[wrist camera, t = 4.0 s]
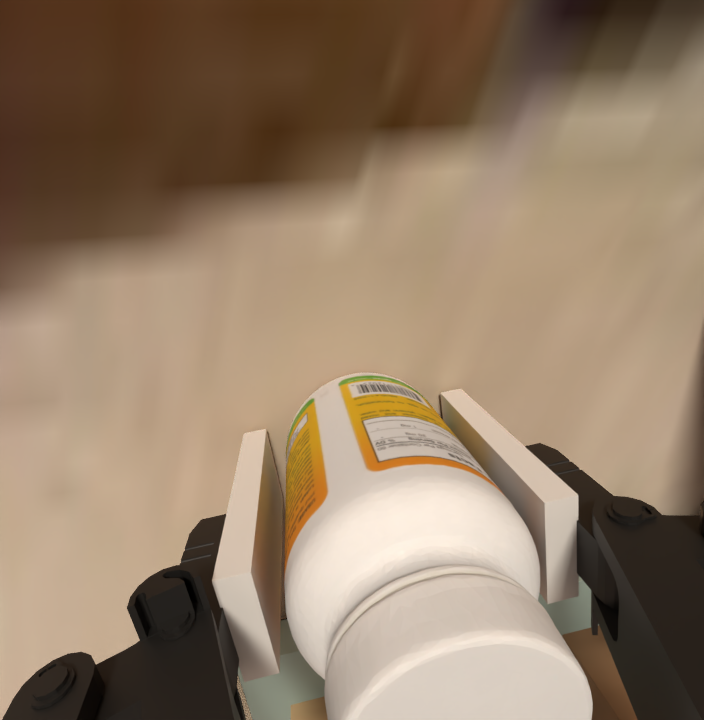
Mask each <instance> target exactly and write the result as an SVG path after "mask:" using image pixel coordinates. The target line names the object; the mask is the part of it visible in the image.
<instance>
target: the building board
mask: <svg viewBox="0 0 704 720" xmlns="http://www.w3.org/2000/svg"><path fill="white" fill-rule="evenodd" d="M538 602H539V603H540V604H541V605H542V606H543V607H544V609H545V610H546V611H547V613H548V614H549V616H550V618H551V619H552V621H553V623H554V625H555V627H556V628H557V630H558V631H559V633H560V634H561V636H562V635H564V634H567V633H571V632H575V631H579V630H583V629H587V628H591V589H590V588H589V587H588V586H587V585H586V583H585V582H584V581H583V580H582V579H581V577H580V576H579V596H578V597H574V598H570V599H566V600H562V601H558V602H554V603H550V604H547V603H546V601H545V600H544V598H543V597H542V595H541V594H540V593H539V598H538ZM598 625H599V624H598ZM238 676H239V679H240V682H241V685H242V688H243V691H244V694H245V697H246V701H247V704H248V707H249V710H250V713H251V716H252V719H253V720H291V705H293V704H297V703H301V702H304V701H308V700H312V699H316V698H320V697H324V696H325V695H324V687H325V680H324V679H323V678H322V677H321V676H320V675H318V674H317V673H316V672H315V671H314V670H313V669H312V667H311V666H310V665H309V664H308V663H307V661H306V660H305V659H304V657H303V656H302V655H301V653H300V651H299V649H298V648H297V645H296V643H295V641H294V639H293V637H292V634H291V631H290V627H289V624H288V620H287V619H286V620H282V621H281V622H280V673H278V674H274V675H270V676H266V677H262V678H258V679H255V680H251V681H247V682H244V680H243V676H242V673H241V670H240V667H238Z"/></svg>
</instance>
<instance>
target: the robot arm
mask: <svg viewBox="0 0 704 720" xmlns="http://www.w3.org/2000/svg"><path fill="white" fill-rule="evenodd" d="M440 396H441V406H442V415H443V421H444V422H445V423H446V425H447V426H448V427H449V428H450V429H451V431H452V432H453V433H454V434H455V436H456V437H457V438H458V439H459V440H460V442H461V443H462V444H463V445H464V447H465V448H466V449H467V450H468V451H469V453H470V454H471V455H472V456H473V458H474V459H475V460H476V461H477V462H478V464H479V465H480V466H481V467H482V469H483V470H484V471H485V472H486V473H487V475H488V476H489V477H490V478H491V480H492V481H493V482H494V483H495V484H496V485H497V487H498V488H499V489H500V490H501V491H502V493H503V494H504V495H505V496H506V498H507V499H508V500H509V501H510V502H511V503H512V505H513V507H514V508H515V510H516V511H517V512H518V514H519V515H520V516H521V518H522V519H523V521H524V522H525V524H526V526H527V528H528V530H529V532H530V534H531V536H532V538H533V541H534V544H535V546H536V550H537V554H538V558H539V564H540V592H539V593H540V594H541V595H542V597H543V598H544V600H545V601H546V603H547V604H550V603H554V602H558V601H562V600H566V599H570V598H574V597H578V596H579V576H580V577H581V579H582V580H583V581H584V582H585V583H586V585H587V586H588V587H589V588H590V589H591V630H592V635H598V624H599V626H600V628H601V631H602V633H603V636H604V638H605V641H606V643H607V646H608V648H609V651H610V653H611V656H612V658H613V660H614V663H615V665H616V668H617V670H618V673H619V675H620V678H621V680H622V683H623V685H624V688H625V690H626V693H627V695H628V697H629V700H630V702H631V705H632V707H633V710H634V712H635V715H636V717H637V720H704V501H703V502H702V504H701V510H700V516H667V515H662V514H661V513H659V512H658V511H657V510H656V509H655V508H654V507H653V506H651V505H649V504H647V503H645V502H643V501H640V500H637V499H633V498H629V497H620V496H613V495H612V494H611V493H609V492H608V491H607V490H606V489H604V488H603V487H602V486H601V485H600V484H598V483H597V482H596V481H595V480H593V479H592V478H591V477H590V476H588V475H587V474H586V473H585V472H583V471H582V470H579V467H577V466H576V465H575V464H574V463H572V462H569V459H567V458H566V457H565V456H564V455H562V454H561V453H560V452H559V451H558V450H556V449H553V448H551V447H548V446H546V445H543V444H541V443H538V444H534V445H529V446H524V445H523V444H521V443H520V442H519V441H518V440H517V439H516V438H515V437H514V436H513V435H511V434H510V433H509V432H508V431H507V430H506V429H505V428H504V427H503V426H502V425H500V424H499V423H498V422H497V421H496V420H495V419H494V418H493V417H492V416H490V415H489V414H488V413H487V412H486V411H485V410H484V409H483V408H482V407H481V406H479V405H478V404H477V403H476V402H475V401H474V400H473V399H472V398H471V397H469V396H468V395H467V394H466V393H465V392H464V391H463V390H462V389H456V390H451V391H446V392H441V393H440ZM282 512H283V496H282V491H281V487H280V483H279V479H278V475H277V471H276V467H275V463H274V458H273V454H272V450H271V446H270V442H269V438H268V434H267V430H266V429H262V430H258V431H253V432H248V433H244V436H243V440H242V445H241V449H240V454H239V459H238V463H237V468H236V472H235V477H234V482H233V486H232V491H231V495H230V500H229V505H228V509H227V514H224V515H220V516H215V517H211V518H206V519H202V520H201V521H200V522H199V523H198V524H197V526H196V527H195V528H194V529H193V530H192V532H191V533H190V534H189V537H188V541H187V544H186V547H185V551H184V553H183V556H182V559H181V563H180V565H176V566H173V567H169V568H166V569H163V570H161V571H159V572H157V573H156V574H154V575H152V576H150V577H149V578H148V579H146V580H145V581H144V582H143V583H142V584H140V585H139V586H138V587H137V589H136V590H135V591H134V593H133V594H132V596H131V597H130V600H129V603H128V606H127V609H128V612H129V614H130V617H131V619H132V622H133V624H134V627H135V629H136V631H137V634H138V636H139V639H140V641H139V642H137V643H136V644H134V645H133V646H131V647H129V648H128V649H126V650H124V651H122V652H120V653H118V654H116V655H114V656H112V657H110V658H108V659H106V660H104V661H103V662H101V663H99V664H97V665H96V664H95V662H94V660H93V658H92V656H91V655H89V654H86V653H83V652H77V653H70V654H67V655H64V656H62V657H60V658H57V659H55V660H53V661H51V662H50V663H49V664H47V665H46V666H44V667H43V668H41V669H40V670H38V671H37V672H36V673H35V674H34V675H33V676H32V677H31V678H30V679H29V680H28V681H27V682H26V683H25V684H24V685H23V686H22V687H21V689H20V690H19V691H18V693H17V694H16V696H15V697H14V699H13V700H12V702H11V704H10V706H9V708H8V710H7V712H6V714H5V715H4V717H3V719H2V720H246V718H245V714H244V710H243V706H242V701H241V698H240V695H239V692H238V689H237V686H236V685H237V676H238V667H240V670H241V673H242V676H243V680H244V682H247V681H251V680H255V679H258V678H262V677H266V676H270V675H274V674H278V673H280V622H281V567H282Z"/></svg>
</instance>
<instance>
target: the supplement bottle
mask: <svg viewBox="0 0 704 720" xmlns="http://www.w3.org/2000/svg"><path fill="white" fill-rule="evenodd" d="M284 588H285V608H286V615H287V620H288V624H289V627H290V631H291V634H292V637H293V639H294V641H295V643H296V645H297V648H298V649H299V651H300V653H301V655H302V656H303V657H304V659H305V660H306V661H307V663H308V664H309V665H310V666H311V667H312V669H313V670H314V671H315V672H316V673H317V674H318V675H320V676H321V677H322V678H323V679H324V680H325V687H324V695H325V705H326V711H327V719H328V720H591V719H592V709H593V702H592V695H591V690H590V686H589V683H588V680H587V677H586V675H585V673H584V671H583V669H582V668H581V666H580V664H579V663H578V661H577V659H576V658H575V656H574V655H573V653H572V652H571V650H570V648H569V647H568V645H567V644H566V642H565V640H564V639H563V637H562V636H561V634H560V633H559V631H558V630H557V628H556V627H555V625H554V623H553V621H552V619H551V618H550V616H549V614H548V613H547V611H546V610H545V609H544V607H543V606H542V605H541V604H540V603H539V602H538V598H539V592H540V564H539V558H538V554H537V550H536V546H535V544H534V541H533V538H532V536H531V534H530V532H529V530H528V528H527V526H526V524H525V522H524V521H523V519H522V518H521V516H520V515H519V514H518V512H517V511H516V510H515V508H514V507H513V505H512V503H511V502H510V501H509V500H508V499H507V498H506V496H505V495H504V494H503V493H502V491H501V490H500V489H499V488H498V487H497V485H496V484H495V483H494V482H493V481H492V480H491V478H490V477H489V476H488V475H487V473H486V472H485V471H484V470H483V469H482V467H481V466H480V465H479V464H478V462H477V461H476V460H475V459H474V458H473V456H472V455H471V454H470V453H469V451H468V450H467V449H466V448H465V447H464V445H463V444H462V443H461V442H460V440H459V439H458V438H457V437H456V436H455V434H454V433H453V432H452V431H451V429H450V428H449V427H448V426H447V425H446V423H445V422H444V421H443V420H442V418H441V417H440V416H439V415H438V413H437V412H436V411H435V410H434V409H433V407H432V406H431V405H430V404H429V402H428V401H427V400H426V399H425V398H424V397H423V396H422V395H421V394H420V393H419V392H418V391H417V390H415V389H414V388H413V387H411V386H410V385H409V384H407V383H405V382H403V381H401V380H399V379H397V378H394V377H392V376H388V375H384V374H379V373H355V374H350V375H346V376H342V377H339V378H337V379H334V380H332V381H330V382H328V383H326V384H325V385H323V386H321V387H320V388H319V389H317V390H316V391H315V392H314V393H313V394H312V395H311V396H310V397H309V398H308V399H307V400H306V401H305V402H304V403H303V404H302V406H301V407H300V409H299V410H298V412H297V413H296V415H295V417H294V419H293V421H292V424H291V426H290V429H289V433H288V438H287V447H286V513H285V563H284Z"/></svg>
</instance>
